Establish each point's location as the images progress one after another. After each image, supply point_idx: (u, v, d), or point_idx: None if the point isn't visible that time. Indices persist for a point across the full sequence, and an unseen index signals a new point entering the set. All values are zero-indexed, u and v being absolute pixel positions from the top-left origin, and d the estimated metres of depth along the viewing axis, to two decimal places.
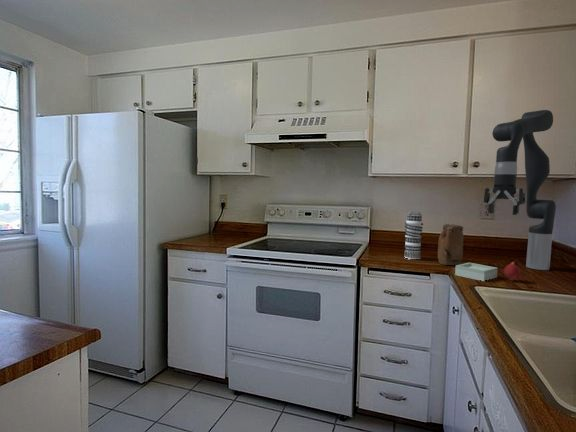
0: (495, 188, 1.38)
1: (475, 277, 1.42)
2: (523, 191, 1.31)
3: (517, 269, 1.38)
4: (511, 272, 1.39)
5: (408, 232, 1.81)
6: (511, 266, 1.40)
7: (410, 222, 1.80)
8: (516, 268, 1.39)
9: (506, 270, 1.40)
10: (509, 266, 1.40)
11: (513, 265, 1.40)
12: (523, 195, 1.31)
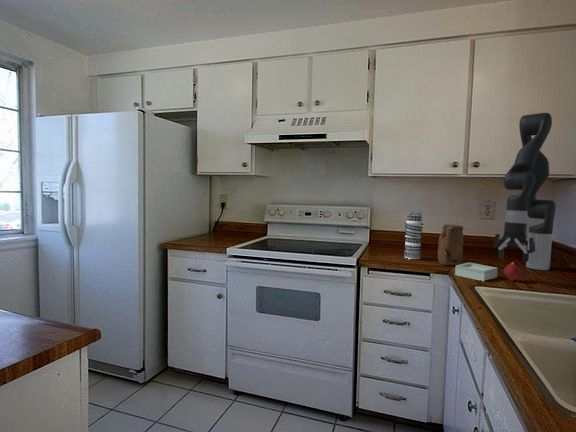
0: (505, 235, 1.41)
1: (475, 277, 1.42)
2: (533, 240, 1.34)
3: (517, 269, 1.38)
4: (511, 272, 1.39)
5: (408, 232, 1.81)
6: (511, 266, 1.40)
7: (410, 222, 1.80)
8: (516, 268, 1.39)
9: (506, 270, 1.40)
10: (509, 266, 1.40)
11: (513, 265, 1.40)
12: (533, 244, 1.34)
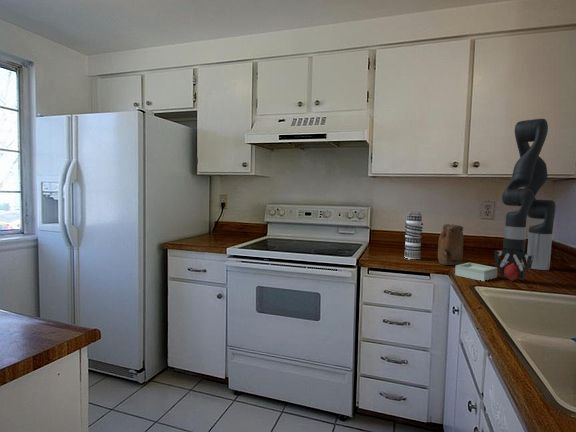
0: (504, 250, 1.42)
1: (475, 277, 1.42)
2: (531, 259, 1.35)
3: (517, 269, 1.38)
4: (511, 272, 1.39)
5: (408, 232, 1.81)
6: (511, 266, 1.39)
7: (410, 222, 1.80)
8: (516, 268, 1.39)
9: (506, 270, 1.40)
10: (509, 266, 1.40)
11: (513, 265, 1.40)
12: (530, 262, 1.35)
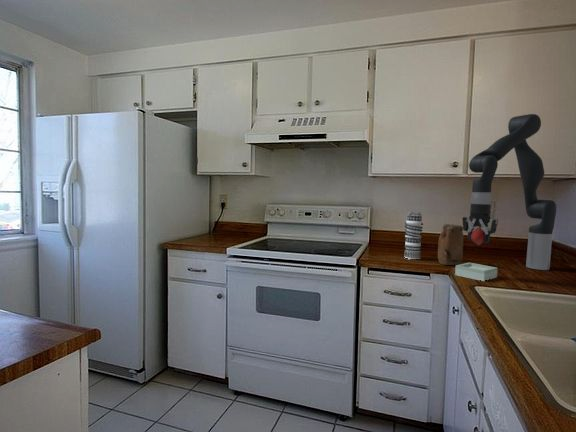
0: (471, 216, 1.48)
1: (475, 277, 1.42)
2: (496, 222, 1.40)
3: (483, 233, 1.44)
4: (477, 236, 1.44)
5: (408, 232, 1.81)
6: (477, 230, 1.45)
7: (410, 222, 1.80)
8: (482, 232, 1.44)
9: (473, 235, 1.46)
10: (475, 231, 1.46)
11: (479, 230, 1.45)
12: (495, 226, 1.41)
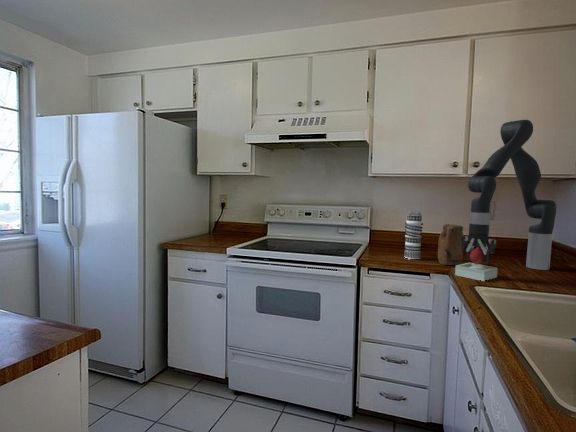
0: (469, 235, 1.48)
1: (475, 277, 1.42)
2: (494, 243, 1.41)
3: (481, 253, 1.45)
4: (475, 256, 1.45)
5: (408, 232, 1.81)
6: (476, 250, 1.46)
7: (410, 222, 1.80)
8: (480, 252, 1.45)
9: (471, 254, 1.47)
10: (474, 250, 1.46)
11: (478, 249, 1.46)
12: (493, 246, 1.41)
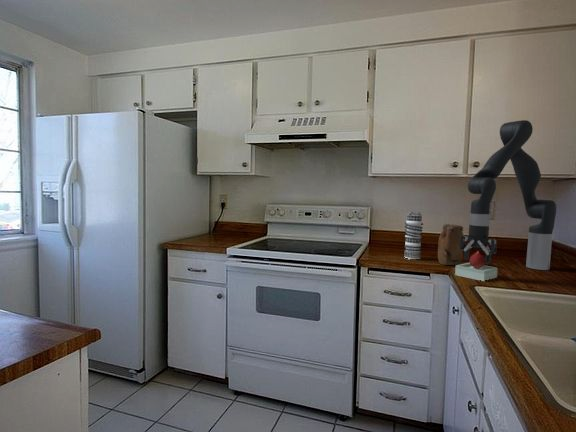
0: (470, 237, 1.48)
1: (475, 277, 1.42)
2: (494, 242, 1.41)
3: (481, 258, 1.45)
4: (475, 261, 1.45)
5: (408, 232, 1.81)
6: (476, 255, 1.46)
7: (410, 222, 1.80)
8: (480, 257, 1.45)
9: (471, 259, 1.47)
10: (474, 255, 1.46)
11: (478, 254, 1.46)
12: (494, 246, 1.41)
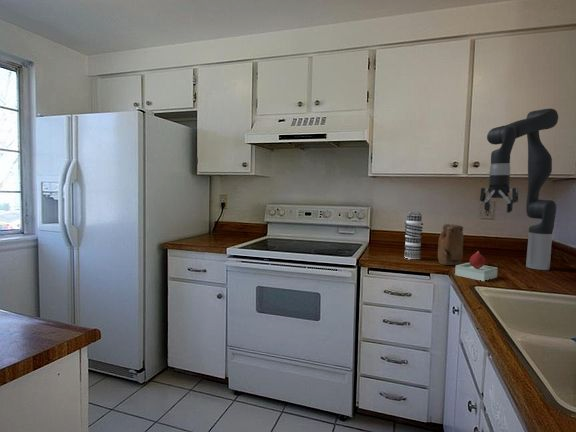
0: (490, 188, 1.49)
1: (475, 277, 1.42)
2: (516, 190, 1.42)
3: (481, 258, 1.45)
4: (476, 261, 1.45)
5: (408, 232, 1.81)
6: (476, 255, 1.46)
7: (410, 222, 1.80)
8: (480, 257, 1.45)
9: (471, 259, 1.47)
10: (474, 255, 1.46)
11: (478, 254, 1.46)
12: (516, 194, 1.42)
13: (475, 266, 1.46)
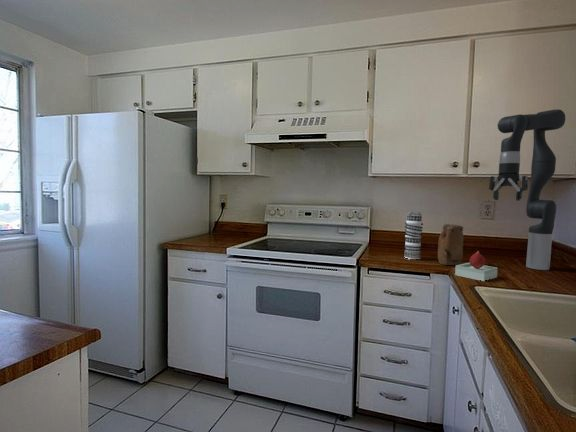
0: (500, 176, 1.50)
1: (475, 277, 1.42)
2: (526, 178, 1.42)
3: (481, 258, 1.45)
4: (475, 261, 1.45)
5: (408, 232, 1.81)
6: (476, 255, 1.46)
7: (410, 222, 1.80)
8: (480, 257, 1.45)
9: (471, 259, 1.47)
10: (474, 255, 1.46)
11: (478, 254, 1.46)
12: (526, 182, 1.42)
13: (475, 266, 1.46)
